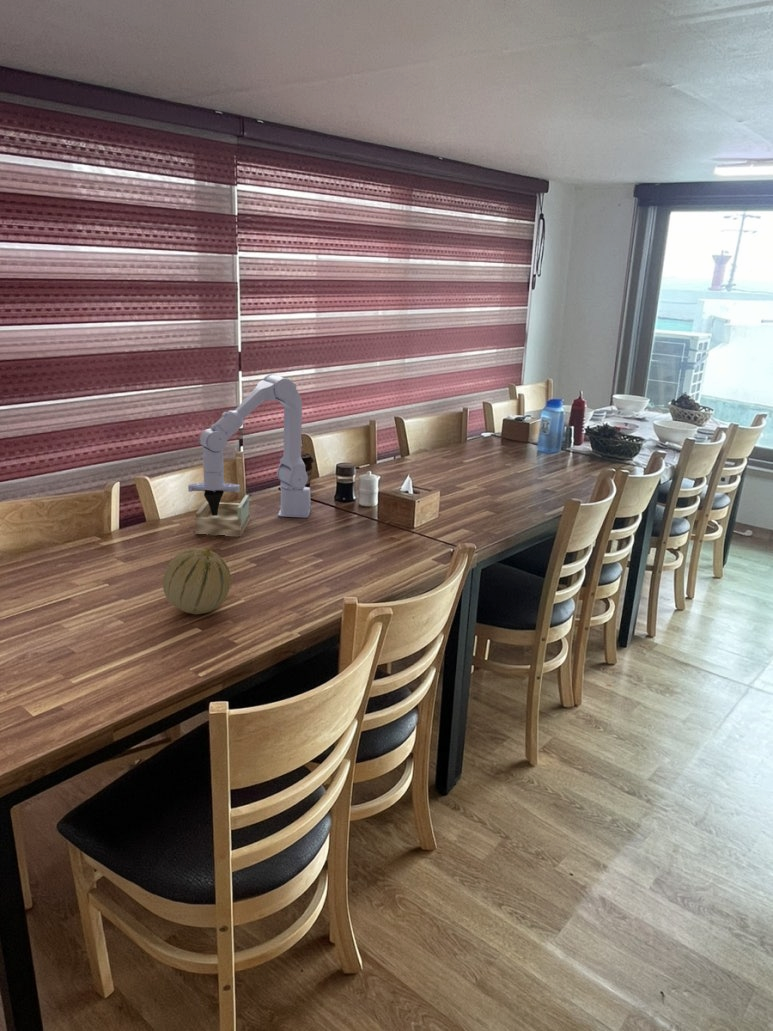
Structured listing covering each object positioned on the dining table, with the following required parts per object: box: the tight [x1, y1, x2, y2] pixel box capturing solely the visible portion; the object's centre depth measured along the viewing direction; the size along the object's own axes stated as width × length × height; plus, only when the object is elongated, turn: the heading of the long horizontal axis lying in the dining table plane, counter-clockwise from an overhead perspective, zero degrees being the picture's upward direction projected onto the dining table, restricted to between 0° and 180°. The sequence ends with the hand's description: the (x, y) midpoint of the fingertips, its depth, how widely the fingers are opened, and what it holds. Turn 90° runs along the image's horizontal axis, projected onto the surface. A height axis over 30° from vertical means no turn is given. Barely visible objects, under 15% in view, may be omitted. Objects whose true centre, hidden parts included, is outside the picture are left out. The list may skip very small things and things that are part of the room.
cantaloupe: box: [162, 546, 232, 615], centre depth 162 cm, size 15×15×15 cm
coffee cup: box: [301, 452, 315, 489], centre depth 251 cm, size 9×8×13 cm
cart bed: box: [194, 500, 251, 537], centre depth 216 cm, size 13×15×6 cm
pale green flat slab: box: [237, 494, 250, 527], centre depth 215 cm, size 1×12×6 cm, turn 0°
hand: (214, 514), depth 215 cm, fingers closed
